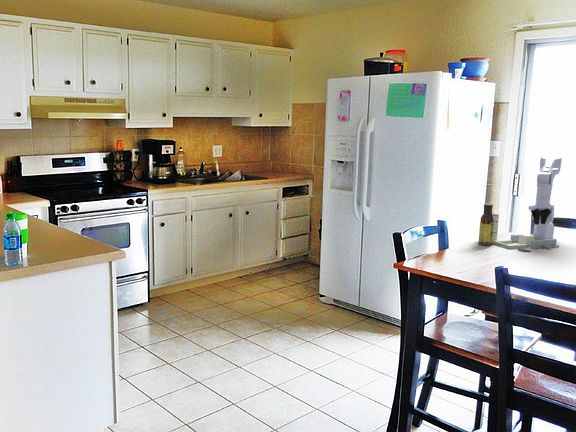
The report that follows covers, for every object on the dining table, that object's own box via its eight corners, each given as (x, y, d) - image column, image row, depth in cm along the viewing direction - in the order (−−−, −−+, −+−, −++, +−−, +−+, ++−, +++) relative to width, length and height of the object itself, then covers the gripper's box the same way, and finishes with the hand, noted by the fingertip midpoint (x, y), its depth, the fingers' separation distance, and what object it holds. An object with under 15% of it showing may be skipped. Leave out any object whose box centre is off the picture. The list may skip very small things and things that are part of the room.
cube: (525, 243, 273) (526, 233, 272) (533, 245, 268) (534, 235, 267) (518, 243, 271) (519, 234, 270) (525, 246, 266) (526, 236, 265)
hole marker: (524, 248, 260) (524, 248, 260) (534, 251, 254) (534, 251, 254) (514, 249, 258) (514, 249, 258) (524, 252, 252) (524, 251, 252)
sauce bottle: (492, 246, 262) (496, 205, 259) (479, 245, 263) (482, 204, 260) (490, 243, 269) (494, 203, 265) (477, 242, 270) (481, 203, 266)
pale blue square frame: (532, 240, 280) (533, 233, 280) (555, 246, 267) (556, 239, 267) (510, 241, 275) (510, 234, 274) (532, 248, 262) (533, 241, 261)
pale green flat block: (509, 242, 272) (509, 239, 272) (526, 247, 262) (526, 244, 262) (492, 243, 269) (492, 240, 268) (509, 248, 258) (509, 245, 258)
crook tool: (557, 246, 266) (557, 244, 266) (564, 248, 263) (564, 246, 263) (541, 247, 263) (542, 245, 263) (548, 249, 259) (548, 247, 259)
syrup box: (497, 242, 272) (499, 213, 269) (485, 242, 272) (487, 213, 269) (493, 240, 277) (495, 212, 275) (481, 239, 277) (484, 211, 275)
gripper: (537, 198, 262) (534, 226, 264) (560, 197, 267) (557, 225, 269) (526, 196, 268) (523, 223, 270) (548, 195, 274) (545, 222, 276)
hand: (539, 224), depth 270 cm, fingers open, 4 cm apart
